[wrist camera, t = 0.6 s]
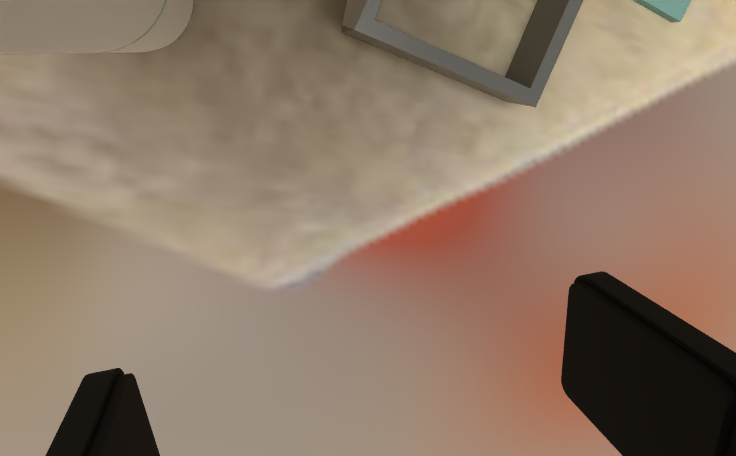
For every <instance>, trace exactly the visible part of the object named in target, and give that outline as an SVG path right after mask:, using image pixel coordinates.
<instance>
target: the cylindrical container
mask: <svg viewBox="0 0 736 456" xmlns="http://www.w3.org/2000/svg"><path fill="white" fill-rule="evenodd" d="M192 10H193V0H0V55H9V54H63V53H129V52H151V51H155V50H158V49H162V48H164V47H166V46H168V45H169V44H171V43H173V42H174V41H175V40H176V39H177V38H178V37H179V36H180V35H181V34H182V33H183V31H184V30H185V28H186V27H187V25H188V23H189V20H190V18H191V15H192Z"/></svg>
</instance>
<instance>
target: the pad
mask: <svg viewBox="0 0 736 456" xmlns="http://www.w3.org/2000/svg"><path fill="white" fill-rule="evenodd" d="M634 1H636V2H638V3H640V4H641V5H643V6H645V7H647V8H648V9H650V10H652V11H654V12H655V13H657V14H659V15H661V16H662V17H664V18H666V19H668V20H669V21H671V22H681V20H682V18H683V16H684V14H685V12H686V10H687V8H688V6H689V4H690V2H691V0H634Z"/></svg>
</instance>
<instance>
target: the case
mask: <svg viewBox="0 0 736 456" xmlns="http://www.w3.org/2000/svg"><path fill="white" fill-rule="evenodd" d="M582 2H583V0H538V1H537V4H536V6H535V8H534V11H533V13H532V16H531V18H530V20H529V23H528V25H527V27H526V30H525V32H524V35H523V37H522V39H521V42H520V44H519V46H518V49H517V51H516V54H515V56H514V58H513V61H512V63H511V65H510V68H509V70H508V72H507V75H506V77H503V76H501V75H499V74H496V73H494V72H492V71H490V70H487V69H485V68H483V67H481V66H478V65H476V64H474V63H471V62H469V61H467V60H465V59H462V58H460V57H458V56H456V55H453V54H451V53H449V52H447V51H444V50H442V49H440V48H438V47H435V46H433V45H431V44H428V43H426V42H424V41H422V40H419V39H417V38H415V37H413V36H410V35H408V34H406V33H404V32H401V31H399V30H397V29H394V28H392V27H390V26H388V25H385V24H383V23H381V22H379V21H376V20H375V18H376V15H377V12H378V9H379V6H380V3H381V0H367V3H366V5H365V7H364V9H363V12H362V14H361V16H360V18H359V21H358V23H357V25H356V27H355V29H351V28H349V27H346V26H344V28H343V31H342V32H343V33H345V34H348V35H350V36H353V37H355V38H357V39H360V40H362V41H364V42H367V43H369V44H372V45H374V46H376V47H379V48H381V49H383V50H386V51H388V52H390V53H393V54H395V55H398V56H400V57H402V58H405V59H407V60H409V61H412V62H414V63H417V64H419V65H421V66H424V67H426V68H428V69H431V70H433V71H436V72H438V73H440V74H443V75H445V76H447V77H450V78H452V79H455V80H457V81H459V82H462V83H464V84H466V85H469V86H471V87H473V88H476V89H478V90H481V91H483V92H485V93H488V94H490V95H492V96H495V97H497V98H500V99H502V100H504V101H507V102H511V103H516V104H521V105H526V106H532V107H536V105H537V103H538V101H539V99H540V96H541V94H542V92H543V90H544V87H545V85H546V83H547V81H548V78H549V76H550V74H551V72H552V69H553V67H554V65H555V63H556V60H557V58H558V56H559V54H560V51H561V49H562V47H563V45H564V42H565V40H566V38H567V36H568V33H569V31H570V29H571V27H572V24H573V22H574V20H575V18H576V15H577V13H578V11H579V9H580V6H581V4H582Z"/></svg>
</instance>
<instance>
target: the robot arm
mask: <svg viewBox="0 0 736 456" xmlns="http://www.w3.org/2000/svg"><path fill="white" fill-rule="evenodd" d="M561 377H562V378H561V382H562V386H563V389H564V391H565V393H566V394H567V396H568V397H569V398H570V399H571V400H572V402H573V403H574V404H575V405H576V406H577V407H578V408H579V409H580V410H581V411H582V412H583V413H584V414H585V416H586V417H587V418H588V419H589V420H590V421H591V422H592V423H593V424H594V425H595V426H596V427H597V429H598V430H599V431H600V432H601V433H602V434H603V435H604V436H605V437H606V438H607V439H608V440H609V441H610V443H611V444H612V445H613V446H614V447H615V448H616V449H617V450H618V451H619V452H620V453H621V454H622V456H736V353H735V352H733V351H732V350H730V349H729V348H727V347H725V346H724V345H722V344H721V343H719V342H717V341H716V340H714V339H713V338H711V337H709V336H708V335H706V334H705V333H703V332H701V331H700V330H698V329H696V328H695V327H693V326H692V325H690V324H688V323H687V322H685V321H684V320H682V319H680V318H679V317H677V316H675V315H674V314H672V313H671V312H669V311H668V310H666V309H664V308H663V307H661V306H659V305H658V304H656V303H655V302H653V301H651V300H650V299H648V298H647V297H645V296H643V295H642V294H640V293H639V292H637V291H635V290H634V289H632V288H631V287H629V286H627V285H626V284H624V283H623V282H621V281H619V280H618V279H616V278H614V277H613V276H611V275H609V274H608V273H606V272H596V273H591V274H586V275H581V276H578V277H577V278H576V279H575V281H574V284H572V285H571V286H570V288H569V295H568V307H567V318H566V331H565V341H564V353H563V365H562V376H561ZM46 456H160V454H159V451H158V448H157V445H156V442H155V438H154V435H153V432H152V429H151V426H150V423H149V420H148V416H147V413H146V410H145V407H144V404H143V401H142V398H141V394H140V391H139V388H138V385H137V382H136V379H135V377H134V375H133V374H131V373H130V374H125V375H124V372H123V371H122V370H121V369H120V368H116V369H111V370H106V371H101V372H96V373H91V374H88V375H85V377H84V378H83V380H82V382H81V384H80V386H79V388H78V390H77V392H76V394H75V397H74V398H73V400H72V402H71V405H70V407H69V409H68V411H67V413H66V415H65V417H64V419H63V421H62V423H61V425H60V427H59V429H58V431H57V433H56V436H55V437H54V440H53V442H52V444H51V446H50V448H49V450H48V452H47V454H46Z"/></svg>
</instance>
